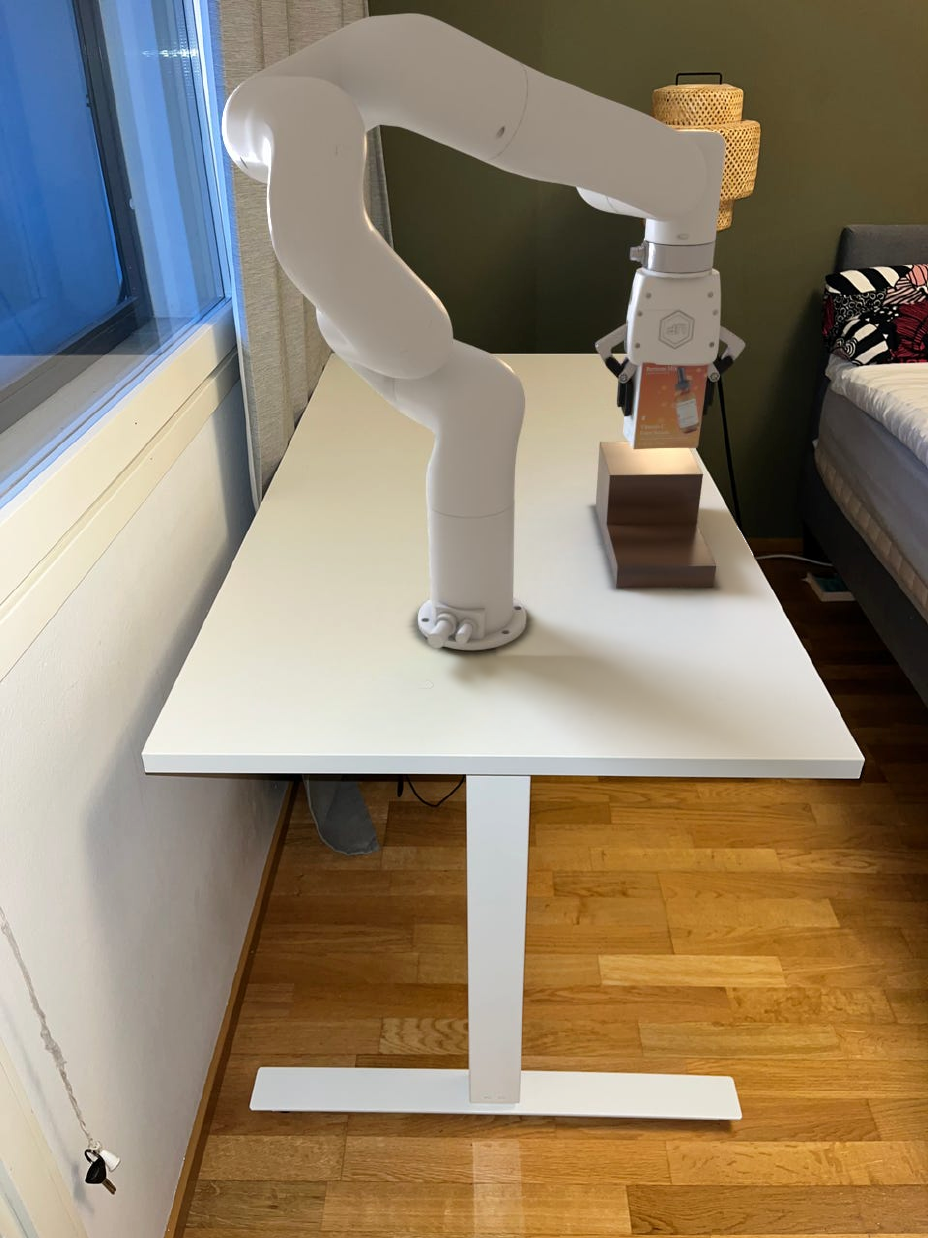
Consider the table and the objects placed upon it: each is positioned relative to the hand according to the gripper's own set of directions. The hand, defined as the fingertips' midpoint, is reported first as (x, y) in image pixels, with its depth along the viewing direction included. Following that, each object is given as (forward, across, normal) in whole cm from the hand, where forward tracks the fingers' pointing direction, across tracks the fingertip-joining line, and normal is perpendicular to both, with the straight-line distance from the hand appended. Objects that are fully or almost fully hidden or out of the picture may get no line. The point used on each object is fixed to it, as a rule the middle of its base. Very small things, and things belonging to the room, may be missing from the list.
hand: (663, 411), depth 112 cm
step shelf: (+20, +1, +5) cm, 21 cm away
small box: (+4, 0, 0) cm, 4 cm away
